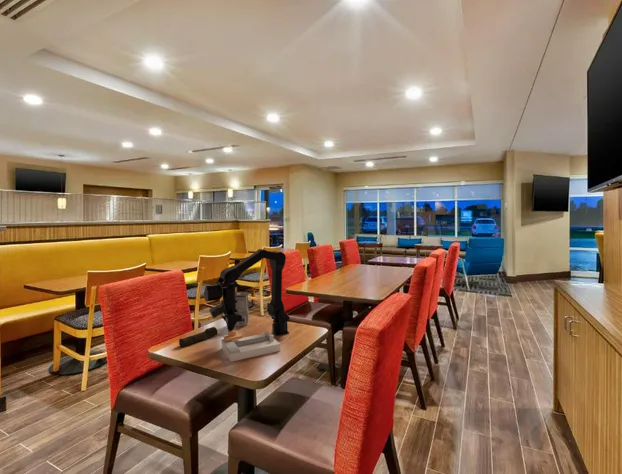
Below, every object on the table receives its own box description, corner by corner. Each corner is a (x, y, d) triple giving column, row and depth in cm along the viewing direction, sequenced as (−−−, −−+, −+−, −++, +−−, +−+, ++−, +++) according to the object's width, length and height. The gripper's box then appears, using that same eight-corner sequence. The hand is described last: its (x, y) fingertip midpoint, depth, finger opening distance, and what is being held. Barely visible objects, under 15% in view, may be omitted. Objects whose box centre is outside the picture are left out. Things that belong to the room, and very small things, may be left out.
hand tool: (183, 348, 144) (182, 338, 144) (178, 346, 147) (178, 336, 146) (220, 336, 158) (220, 327, 158) (216, 334, 161) (215, 325, 161)
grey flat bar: (268, 337, 147) (268, 335, 146) (271, 339, 143) (271, 338, 143) (235, 343, 140) (235, 342, 139) (237, 346, 136) (237, 344, 136)
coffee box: (237, 320, 181) (236, 291, 180) (249, 320, 181) (248, 291, 180) (234, 326, 172) (233, 295, 171) (247, 325, 172) (246, 295, 171)
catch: (239, 335, 146) (239, 329, 146) (242, 338, 143) (242, 331, 142) (223, 338, 143) (223, 332, 143) (225, 341, 139) (225, 334, 139)
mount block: (267, 339, 152) (267, 327, 152) (280, 350, 139) (279, 337, 139) (221, 348, 143) (221, 335, 142) (230, 361, 129) (230, 347, 129)
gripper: (206, 295, 150) (207, 329, 151) (214, 305, 133) (216, 343, 134) (230, 292, 155) (232, 325, 156) (242, 301, 138) (243, 338, 139)
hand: (230, 332), depth 146 cm, fingers closed
